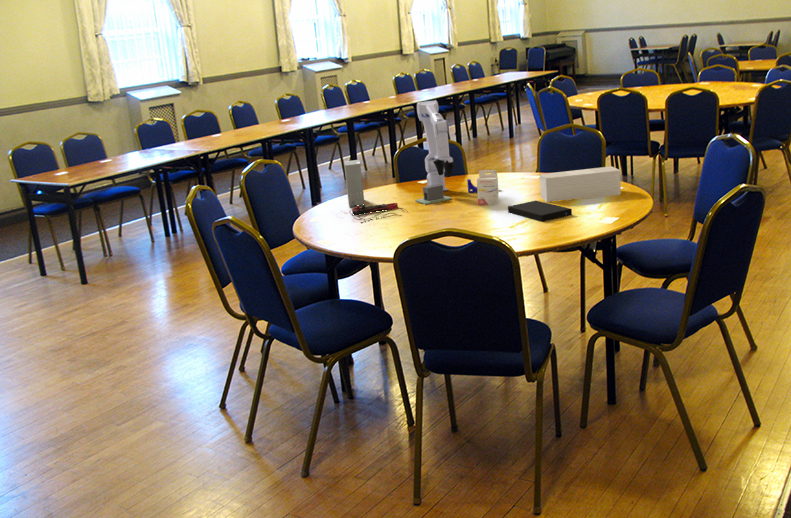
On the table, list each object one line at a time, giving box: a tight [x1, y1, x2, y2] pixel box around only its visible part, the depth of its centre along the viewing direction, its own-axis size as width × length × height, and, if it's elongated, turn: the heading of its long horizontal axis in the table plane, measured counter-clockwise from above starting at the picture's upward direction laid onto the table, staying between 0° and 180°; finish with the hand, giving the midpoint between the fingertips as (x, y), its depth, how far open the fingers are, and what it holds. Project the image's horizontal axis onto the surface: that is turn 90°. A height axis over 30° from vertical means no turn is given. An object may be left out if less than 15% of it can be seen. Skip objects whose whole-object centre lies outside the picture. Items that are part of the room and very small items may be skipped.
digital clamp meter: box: [348, 202, 409, 224], centre depth 318 cm, size 23×4×25 cm
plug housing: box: [422, 184, 445, 201], centre depth 334 cm, size 5×8×6 cm, turn 115°
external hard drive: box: [507, 200, 573, 223], centre depth 289 cm, size 14×23×3 cm, turn 25°
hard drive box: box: [343, 159, 366, 207], centre depth 344 cm, size 16×8×20 cm, turn 4°
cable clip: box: [466, 178, 477, 194], centre depth 344 cm, size 12×4×6 cm, turn 88°
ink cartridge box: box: [476, 169, 500, 206], centre depth 314 cm, size 9×5×15 cm, turn 71°
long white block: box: [539, 166, 622, 203], centre depth 312 cm, size 32×11×11 cm, turn 92°
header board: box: [414, 195, 452, 206], centre depth 334 cm, size 10×14×3 cm
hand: (444, 176), depth 338 cm, fingers open, 7 cm apart
